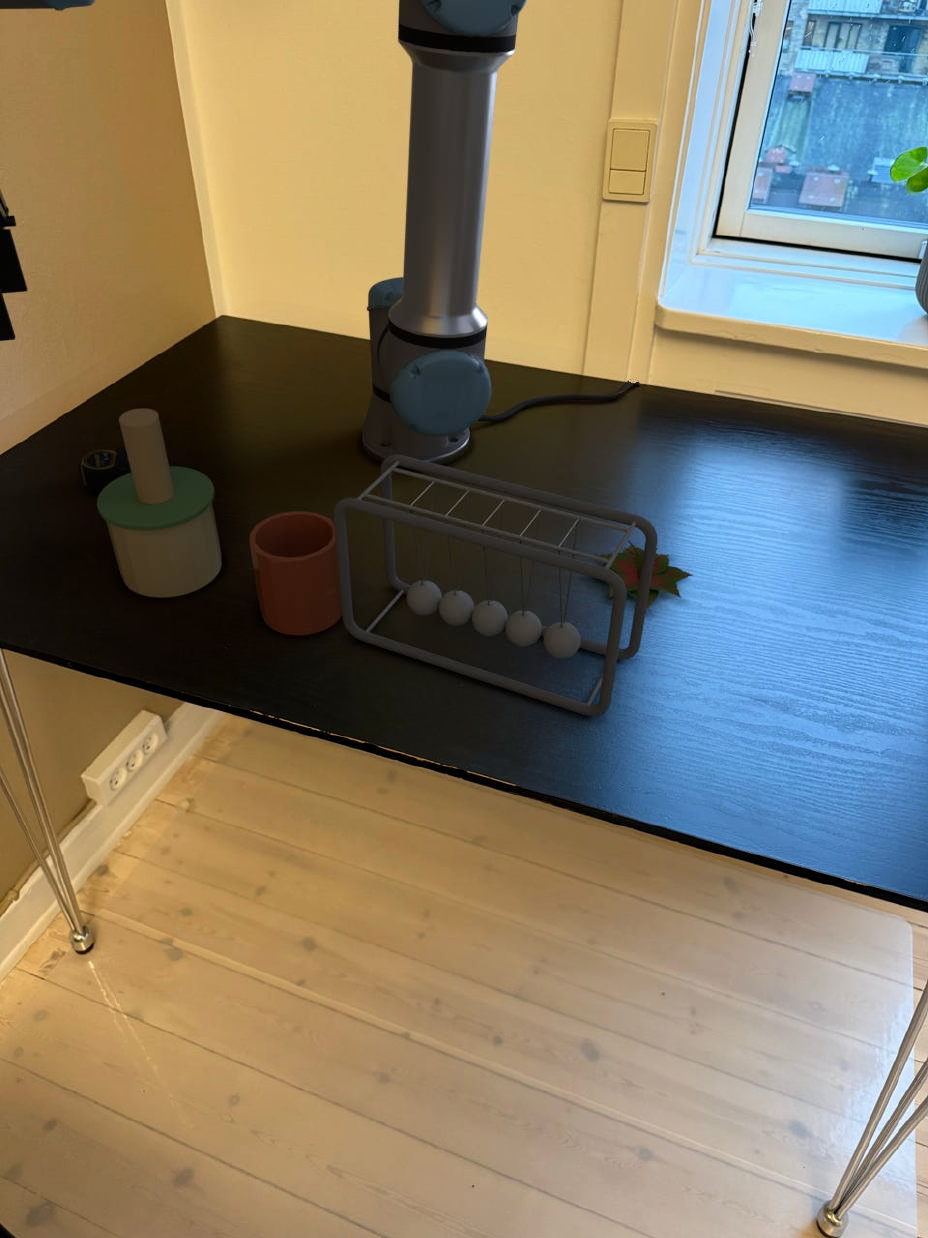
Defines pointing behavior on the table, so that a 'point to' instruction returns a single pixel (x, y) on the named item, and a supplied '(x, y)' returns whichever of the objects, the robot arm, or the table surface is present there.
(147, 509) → the lid
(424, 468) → the newton's cradle
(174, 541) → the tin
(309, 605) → the cup
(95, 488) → the tape measure
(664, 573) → the red green leaf
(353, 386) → the table surface
